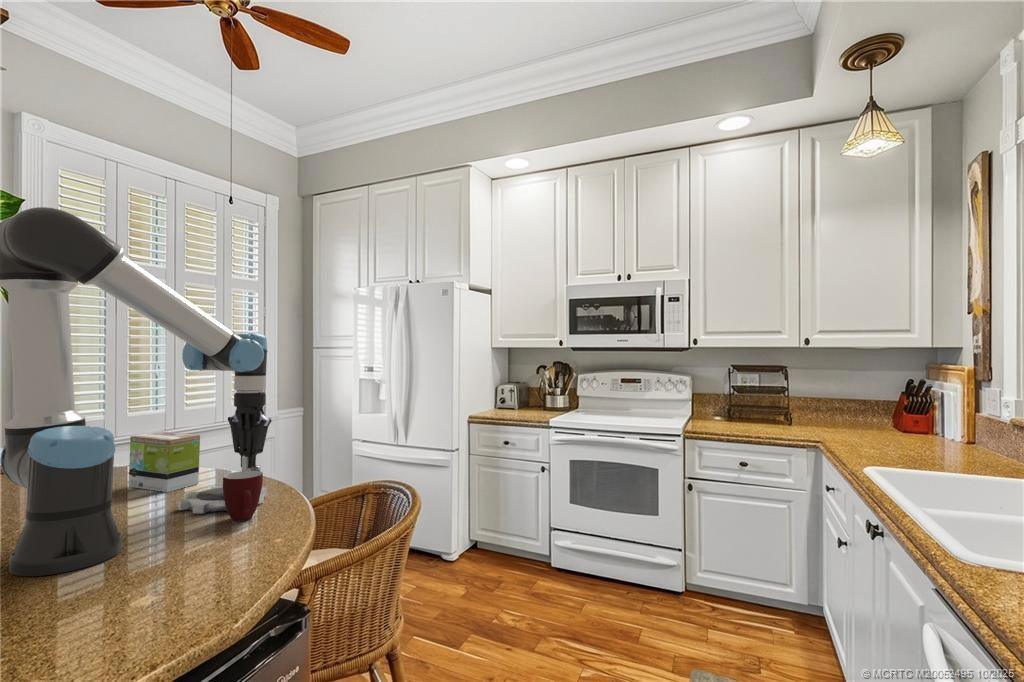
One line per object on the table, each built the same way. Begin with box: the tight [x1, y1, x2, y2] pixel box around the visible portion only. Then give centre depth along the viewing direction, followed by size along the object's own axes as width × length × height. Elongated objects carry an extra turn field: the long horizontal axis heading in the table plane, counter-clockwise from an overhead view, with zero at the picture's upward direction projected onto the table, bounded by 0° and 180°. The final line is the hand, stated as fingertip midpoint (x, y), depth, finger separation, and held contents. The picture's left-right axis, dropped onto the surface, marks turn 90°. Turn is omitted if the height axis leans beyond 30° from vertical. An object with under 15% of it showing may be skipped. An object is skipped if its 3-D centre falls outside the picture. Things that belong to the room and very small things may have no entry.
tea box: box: [128, 431, 201, 493], centre depth 139 cm, size 15×10×15 cm
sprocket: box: [177, 465, 268, 515], centre depth 123 cm, size 19×19×8 cm
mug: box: [222, 470, 264, 522], centre depth 111 cm, size 10×8×10 cm
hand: (247, 480), depth 129 cm, fingers closed
